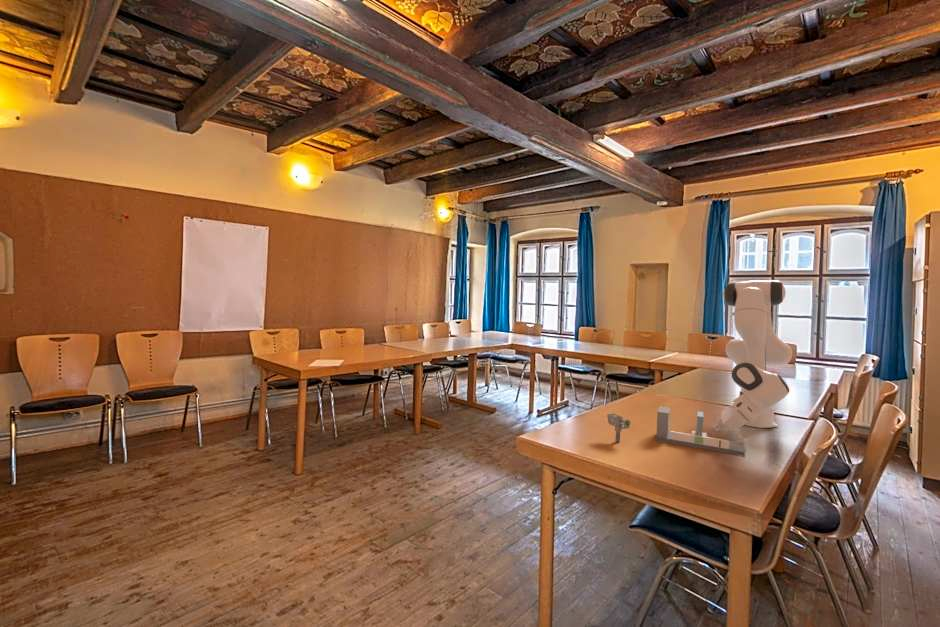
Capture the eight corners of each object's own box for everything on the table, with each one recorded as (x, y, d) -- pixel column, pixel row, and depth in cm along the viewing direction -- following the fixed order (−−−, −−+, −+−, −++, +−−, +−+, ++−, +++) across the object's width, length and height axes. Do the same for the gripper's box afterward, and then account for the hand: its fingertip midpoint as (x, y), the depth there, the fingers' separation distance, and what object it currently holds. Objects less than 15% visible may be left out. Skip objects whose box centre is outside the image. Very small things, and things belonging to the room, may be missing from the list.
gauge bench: (658, 432, 183) (659, 405, 183) (742, 446, 169) (743, 417, 169) (655, 440, 173) (657, 412, 172) (744, 456, 159) (746, 425, 158)
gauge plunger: (692, 435, 176) (693, 410, 175) (706, 437, 173) (707, 412, 173) (691, 442, 167) (692, 416, 166) (706, 445, 164) (707, 418, 164)
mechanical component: (624, 446, 165) (626, 420, 164) (605, 438, 174) (606, 413, 174) (630, 445, 166) (631, 419, 166) (610, 437, 175) (611, 412, 175)
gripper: (737, 395, 173) (708, 415, 179) (741, 406, 155) (708, 428, 161) (749, 408, 172) (719, 428, 177) (755, 421, 154) (721, 443, 159)
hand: (714, 428), depth 168 cm, fingers closed
